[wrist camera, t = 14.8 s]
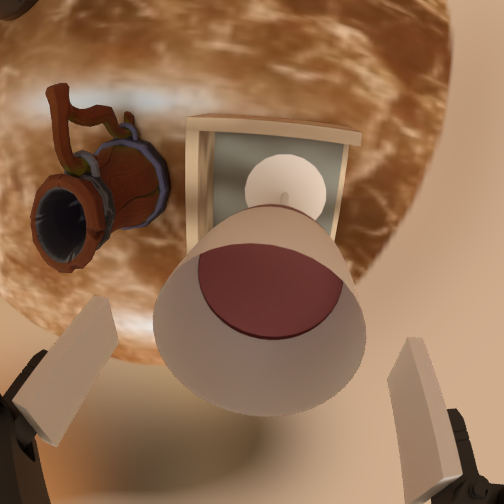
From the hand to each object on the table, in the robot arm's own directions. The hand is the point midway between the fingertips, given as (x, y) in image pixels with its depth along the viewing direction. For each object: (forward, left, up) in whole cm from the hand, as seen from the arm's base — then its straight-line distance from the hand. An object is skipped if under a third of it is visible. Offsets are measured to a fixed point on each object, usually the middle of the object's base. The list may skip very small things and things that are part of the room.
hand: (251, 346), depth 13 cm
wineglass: (0, 0, -23) cm, 23 cm away
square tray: (0, -1, -24) cm, 24 cm away
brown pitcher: (-3, -18, -24) cm, 30 cm away
